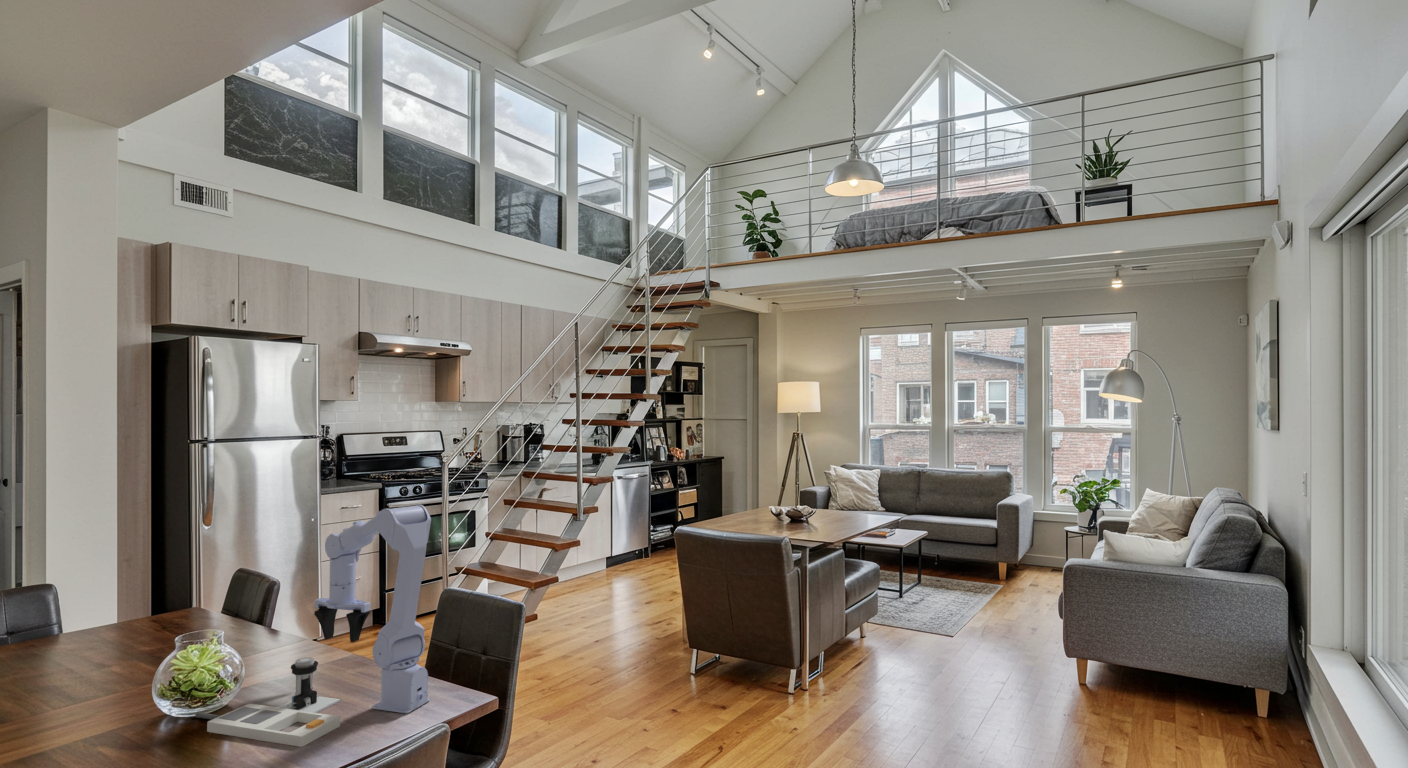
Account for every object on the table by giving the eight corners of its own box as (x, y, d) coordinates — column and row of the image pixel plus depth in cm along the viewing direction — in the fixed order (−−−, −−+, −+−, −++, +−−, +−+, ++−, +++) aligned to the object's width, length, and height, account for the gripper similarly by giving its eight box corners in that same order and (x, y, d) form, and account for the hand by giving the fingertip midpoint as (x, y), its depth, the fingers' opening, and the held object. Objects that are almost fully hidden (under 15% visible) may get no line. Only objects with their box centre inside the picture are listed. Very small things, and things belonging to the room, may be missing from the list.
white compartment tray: (340, 726, 156) (340, 713, 156) (301, 746, 146) (302, 733, 146) (217, 707, 165) (217, 696, 165) (173, 726, 155) (174, 713, 155)
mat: (340, 701, 169) (340, 699, 169) (305, 718, 159) (305, 716, 159) (304, 696, 172) (304, 694, 172) (267, 713, 162) (267, 711, 162)
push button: (296, 714, 161) (297, 667, 161) (278, 710, 163) (279, 663, 163) (322, 703, 167) (323, 657, 167) (305, 699, 169) (306, 654, 169)
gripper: (305, 584, 179) (304, 641, 178) (355, 588, 175) (354, 647, 174) (327, 578, 186) (326, 633, 185) (376, 582, 182) (375, 638, 181)
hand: (341, 639), depth 180 cm, fingers open, 7 cm apart
